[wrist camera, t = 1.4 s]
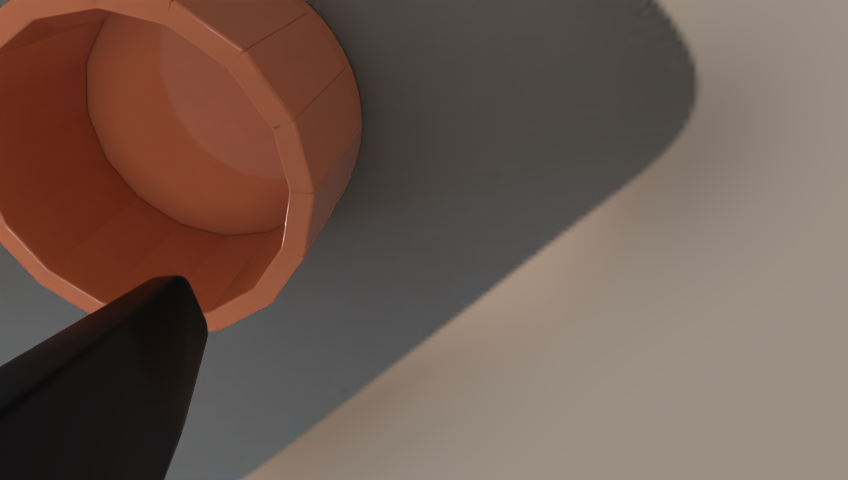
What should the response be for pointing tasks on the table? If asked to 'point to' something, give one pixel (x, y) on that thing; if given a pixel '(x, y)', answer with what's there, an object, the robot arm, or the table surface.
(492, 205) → the table surface
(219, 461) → the table surface
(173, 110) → the cup
